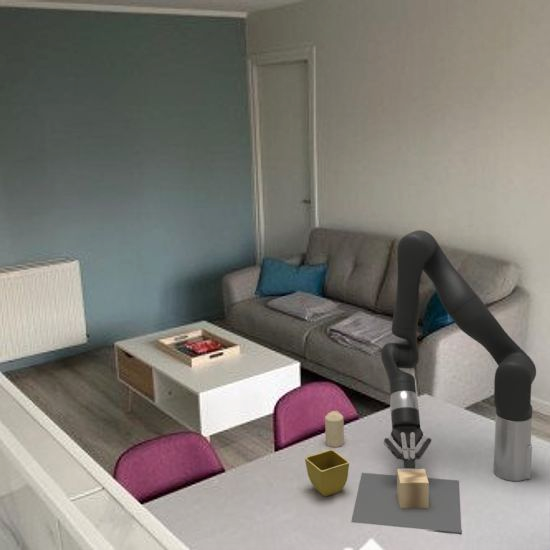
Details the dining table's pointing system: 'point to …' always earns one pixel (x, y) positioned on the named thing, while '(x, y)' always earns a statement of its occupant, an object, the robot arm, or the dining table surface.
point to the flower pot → (327, 472)
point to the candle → (334, 429)
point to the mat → (386, 509)
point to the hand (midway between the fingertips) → (410, 474)
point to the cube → (412, 488)
